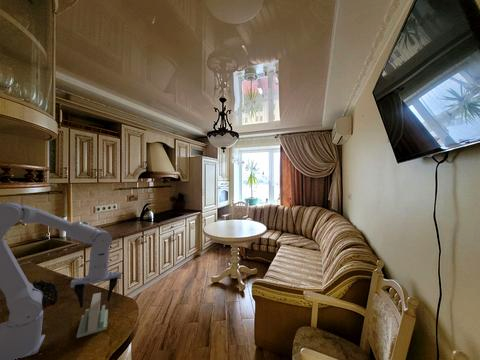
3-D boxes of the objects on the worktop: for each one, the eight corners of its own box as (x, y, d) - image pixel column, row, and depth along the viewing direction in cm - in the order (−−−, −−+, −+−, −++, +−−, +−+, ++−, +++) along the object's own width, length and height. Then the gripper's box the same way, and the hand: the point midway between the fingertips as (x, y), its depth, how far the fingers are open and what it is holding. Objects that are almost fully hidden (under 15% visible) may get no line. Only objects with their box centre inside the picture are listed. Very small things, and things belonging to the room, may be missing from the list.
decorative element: (60, 302, 80) (62, 288, 80) (43, 308, 75) (45, 293, 76) (42, 287, 91) (43, 274, 92) (26, 292, 87) (28, 278, 87)
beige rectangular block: (91, 313, 72) (93, 294, 72) (99, 311, 73) (101, 292, 74) (87, 333, 62) (89, 311, 62) (96, 330, 63) (98, 308, 64)
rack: (76, 338, 61) (77, 328, 61) (81, 318, 70) (82, 310, 70) (106, 329, 65) (107, 320, 66) (107, 311, 75) (108, 303, 75)
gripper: (70, 272, 62) (66, 315, 61) (122, 264, 70) (119, 302, 69) (74, 264, 68) (70, 304, 67) (122, 258, 76) (119, 293, 75)
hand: (95, 302), depth 68 cm, fingers open, 7 cm apart
